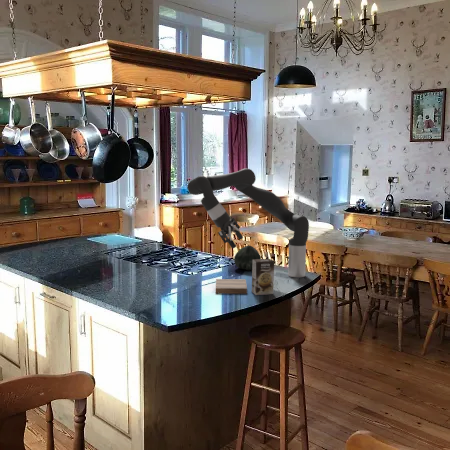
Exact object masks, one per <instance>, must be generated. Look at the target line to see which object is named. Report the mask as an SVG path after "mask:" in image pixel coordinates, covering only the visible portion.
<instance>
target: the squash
mask: <svg viewBox="0 0 450 450" xmlns="http://www.w3.org/2000/svg"><path fill="white" fill-rule="evenodd" d="M233 258H234V259H233V260H234V264H235V266H236V267H237V268H238V269H241V270H246V271H247V272H249V271H252V265H253V259H262V258H261V254H260V252H259V251H258V250H257V249H256V248H255V247H254V246H252V245H245V246H244V247H241V248H240V249H239V250H238V251H237V252H236V253H235V255H234V257H233Z"/></svg>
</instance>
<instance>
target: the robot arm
mask: <svg viewBox="0 0 450 450" xmlns="http://www.w3.org/2000/svg"><path fill="white" fill-rule="evenodd" d="M256 179H257V178H256V174H255V172H254V171H253V170H252V169H250V168H247V167H246V168H242V169H240V170H238V171H234V172H231V173H230V172H229V173H224V174H223V173H222V174H217V175H216V174H215V175H210V176H207V177H206V176H204V175H198V176H197V177H195V178H193V179H191V180H190V181H189V182H188V183H187V186H186V187H187V190H188V192H189V193H190V194H191V195H193V196H198V195H203V197H202V198H201V200H200V202H201V205H202V207H203V208H204V209H205V210H206V212H207V214H208V216H209V217H210V218H211V220H212V221H213V223H214V225H215V226H216V228H219V229H220V231H218V233H217V234H218V235H219V237H220V239H221V240H222V241H223V243H224V244H226V243H228V244H229V246H230V248H232V249H234V248H236V247H237V244H236V243H235V241H234V240H233V239H232V233H235V236H236V237H237V238H238V240H242V239H243V238H244V236H243V235H242V233H241V232H240V229H241V227H240V225H239V223H238V222H237V221H236V220H235V218H234V217H232V218H231V216H230V214H229V213H228V212H227V211H226V209H225V208H224V206H223V204H221V202H220V201H219V200H218V198H217V197H216V196H215V193H214V192H215V191H220V190H224V189H227V188H231V187H234V188H235V189H236V191H239V192H240V193H242V194H243V195H245V196H246V197H248V198H250V199H252V201H254V202H255V203H257V204H258V205H259V206H260V207H261V208H263V209H264V210H265V211H267V212H268V213H269V214H270V215H272V216H273V217H275V218H277V219H278V220H279V221H280V222H281V223H282V224H283V225H284V227H286V228H287V229H289V230H290V231H291V232H293V237H291V238H289V239H288V261H287V262H288V265H287V266H288V268H287V276H288V277H291V278H304V277H306V264H307V263H306V259H307V254H306V253H307V242H308V239H309V228H310V221H309V219H308V217H306V216H305V215H300V214H296V213H294V212H292V211H291V210H289V209H288V208H287V207H286V206H285V204H284V202H283V200H282V199H281V198H280V197H279V196H278V195H276V194H275V193H274V192H272V191H270V190H267V189H264V188H260V187H256V186H254V184H255V182H256Z"/></svg>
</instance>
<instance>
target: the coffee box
mask: <svg viewBox="0 0 450 450" xmlns="http://www.w3.org/2000/svg"><path fill="white" fill-rule="evenodd" d="M251 272H252V273H251V293H253V295H255V296H260V295H264V296H265V295H273V294H274V285H275V284H274V282H275V279H274V278H275V277H274V276H275V261H274V260H273V259H271V258H261V259H253V265H252V270H251Z"/></svg>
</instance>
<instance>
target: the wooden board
mask: <svg viewBox="0 0 450 450" xmlns="http://www.w3.org/2000/svg"><path fill="white" fill-rule="evenodd" d="M215 294H238V295H239V294H248V286H247V279H245V278H242V279H239V278H238V279H237V278H235V279H233V278H228V279H227V278H215Z"/></svg>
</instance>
